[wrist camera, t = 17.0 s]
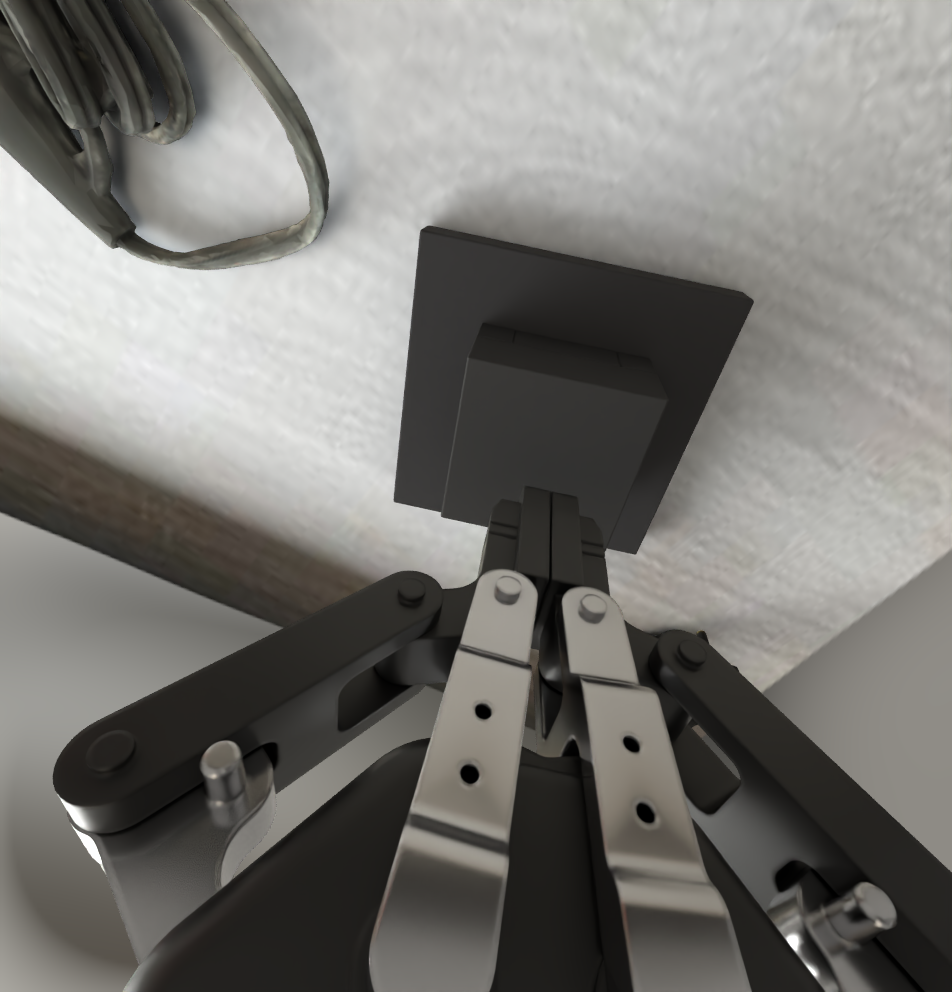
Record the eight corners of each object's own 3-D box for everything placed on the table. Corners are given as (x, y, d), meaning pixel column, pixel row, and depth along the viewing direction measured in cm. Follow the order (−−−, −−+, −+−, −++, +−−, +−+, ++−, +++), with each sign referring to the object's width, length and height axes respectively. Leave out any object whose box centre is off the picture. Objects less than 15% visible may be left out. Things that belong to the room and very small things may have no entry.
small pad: (650, 358, 18) (669, 399, 15) (598, 497, 21) (605, 553, 18) (481, 322, 18) (467, 356, 15) (456, 466, 21) (440, 517, 18)
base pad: (744, 292, 17) (770, 311, 15) (632, 538, 24) (640, 577, 21) (427, 224, 18) (409, 234, 15) (399, 487, 24) (384, 521, 22)
